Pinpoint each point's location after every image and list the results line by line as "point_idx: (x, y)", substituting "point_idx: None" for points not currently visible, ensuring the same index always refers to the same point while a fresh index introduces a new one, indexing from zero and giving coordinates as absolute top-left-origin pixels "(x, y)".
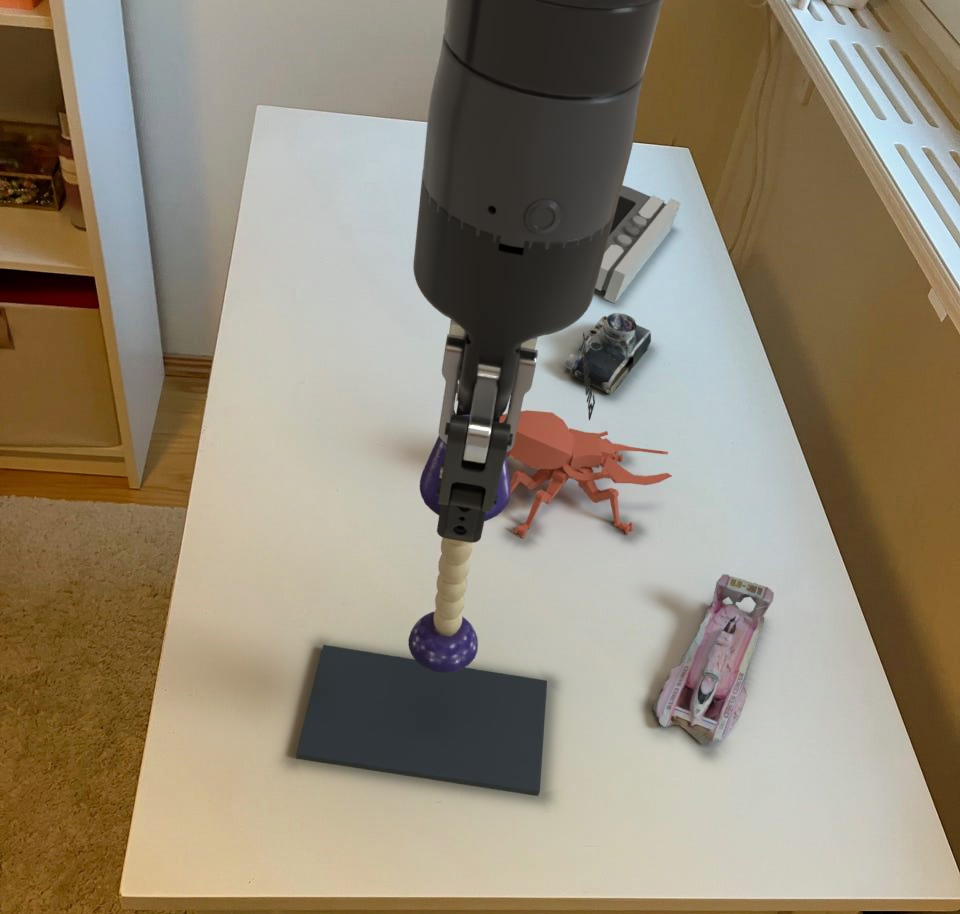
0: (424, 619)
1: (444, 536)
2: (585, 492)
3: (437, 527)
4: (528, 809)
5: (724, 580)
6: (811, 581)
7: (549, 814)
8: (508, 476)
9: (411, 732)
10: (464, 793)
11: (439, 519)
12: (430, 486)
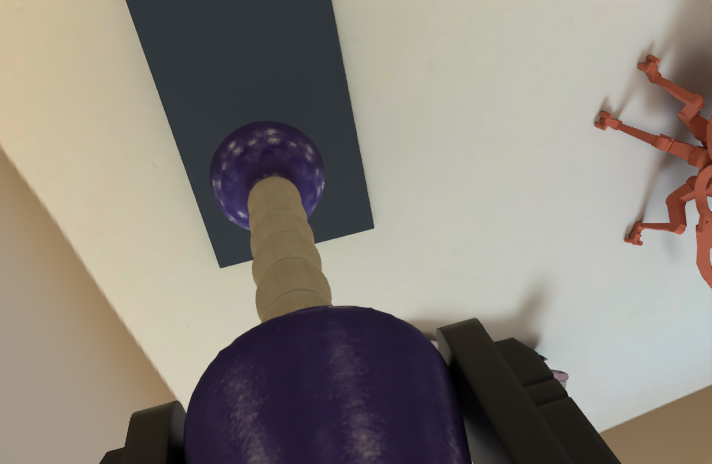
0: (277, 150)
1: (106, 455)
2: (680, 187)
3: (129, 428)
4: (198, 259)
5: (558, 378)
6: (595, 412)
7: (204, 280)
8: None
9: (226, 102)
10: (181, 189)
11: (121, 461)
12: (222, 415)
